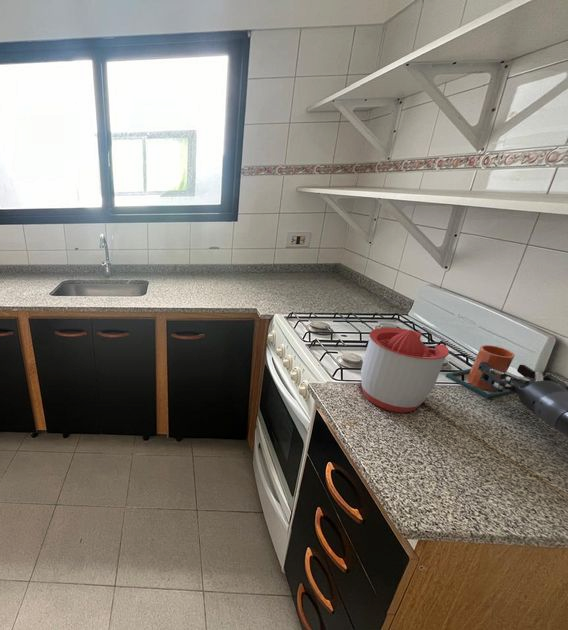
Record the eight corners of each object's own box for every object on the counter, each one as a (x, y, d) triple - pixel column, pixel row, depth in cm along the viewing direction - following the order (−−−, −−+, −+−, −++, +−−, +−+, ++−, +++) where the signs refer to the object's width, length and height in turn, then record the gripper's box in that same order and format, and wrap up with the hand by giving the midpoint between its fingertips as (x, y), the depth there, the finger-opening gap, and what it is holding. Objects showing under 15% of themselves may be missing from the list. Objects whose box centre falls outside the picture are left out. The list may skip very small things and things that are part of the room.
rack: (476, 374, 99) (479, 366, 98) (520, 395, 90) (524, 387, 89) (443, 381, 96) (446, 373, 95) (485, 403, 87) (489, 395, 86)
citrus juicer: (448, 413, 84) (479, 340, 76) (387, 423, 81) (413, 349, 73) (394, 377, 98) (415, 313, 90) (340, 385, 95) (357, 319, 87)
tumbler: (476, 378, 96) (492, 343, 92) (503, 391, 91) (521, 355, 86) (459, 382, 95) (474, 347, 90) (485, 395, 89) (502, 359, 85)
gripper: (607, 395, 70) (539, 355, 85) (526, 389, 72) (473, 351, 87) (588, 424, 73) (526, 381, 88) (511, 417, 75) (463, 376, 90)
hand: (500, 366), depth 87 cm, fingers open, 8 cm apart
